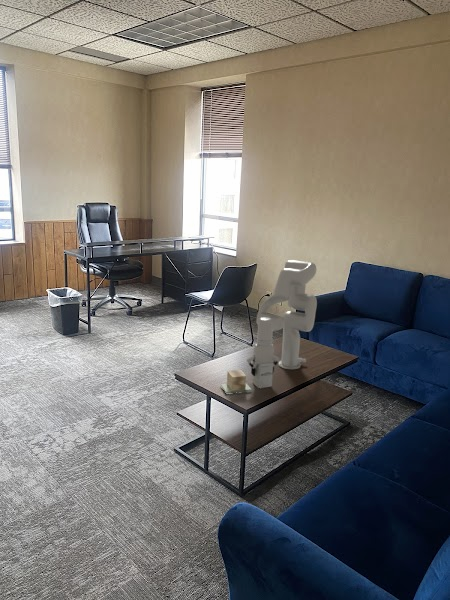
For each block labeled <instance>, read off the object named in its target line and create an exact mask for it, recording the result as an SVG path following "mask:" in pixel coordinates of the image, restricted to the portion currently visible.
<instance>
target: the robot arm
mask: <svg viewBox="0 0 450 600" xmlns="http://www.w3.org/2000/svg"><path fill="white" fill-rule="evenodd" d="M316 274H317V265H316V264H315V263H314V262H312V261H303V260H297V259H295V260H294V259H292V260H291V259H290V260H286V262H285V264H284V268H282V269H281V270H280V272H279V275H278V278H277V281H276V284H275V287H274V290H273V293H272V294H271V295H269V296H268V297H266V299H265V300H264V301H262V303H261V305H260V306H259V309H258V312H257V314H256V324H257V338H256V343H255V344H254V347H253V352H252V356H251V357H248V358H247V359H246V361H247V362H246V363H247V364H248V365H249V366H250V368H251V370H250V373H251V375H252V376H255V373H256V369H255V367H256V366H257V365H259V364H266V363H273V374H272V376H274V372H275V367H276V366H277V364H278V366H279V367H280V368H282V369H285V370H298V369H300V368H301V366H302V364H301V363H306V362H307V358H302V357H299V355H300V344H301V335H300V334H301V333H300V332H299V331H301V332H308V333H309V332H311V331H312V330H313V328H314V325H315V319H316V312H317V305H318V302H317V297H316V296H315V295H314V294H311V293H306V287H307V286H306V285H307V284H308V283H309V282H310V281H311V280H312V279H314V277H315V276H316ZM286 301H287V307H288V308H290V309H293V310H297V311H293V310H292V311H289V310H288V311H285V312H284V313H283V314H282V316H281V315H278V314H277V315H276V314H272V313H268V310H269V309H270V308H271V307H272V306H274V305H277V304H281V303H284V302H286ZM299 311H303V312H299ZM280 330H282V345H281V347H282V348H281V359H280V357H279V356H276V355H275V354H274V353H275V351H274V344H273V343H274V342H275V341H276V340H275V339H273V335H274V334H273V333H274V332H277V331H280Z"/></svg>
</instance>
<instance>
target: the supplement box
mask: <svg viewBox="0 0 450 600" xmlns="http://www.w3.org/2000/svg"><path fill="white" fill-rule="evenodd" d="M255 369H256V373H255V376H253V375H252V376H253V377H252V384H254V385H255V386H256V387H257V388H258V389H259V388H260V389H264V388H270V387H272V386H273V375H274V372H273V363H266V364H259V365H257V366H256V367H255ZM272 374H273V375H272Z"/></svg>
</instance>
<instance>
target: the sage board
mask: <svg viewBox="0 0 450 600" xmlns="http://www.w3.org/2000/svg"><path fill="white" fill-rule="evenodd" d="M221 386H222V388H223V389H224V391H225V392H226V393H236V392H237V393H238V392H247V393H252V388H251V387H250V386H249V384H248V383H246V389H243V390H234V391H232V390H231V389H230V387H229V386H228V385H227V383H221V384H220V387H221ZM222 388H221V389H222ZM224 391H223V392H224ZM238 394H239V393H238Z"/></svg>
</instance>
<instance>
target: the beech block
mask: <svg viewBox="0 0 450 600" xmlns="http://www.w3.org/2000/svg"><path fill="white" fill-rule="evenodd" d="M226 375H227V377H226V379H227V380H226V384H227V385H228V386H229V387H230V389H231V390H232V391H234V390H243V389H246V384H247V375H246V374H245V373H244V372H243V371H242V370H241V369H237V370H235V369H234V370H227V374H226Z"/></svg>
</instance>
